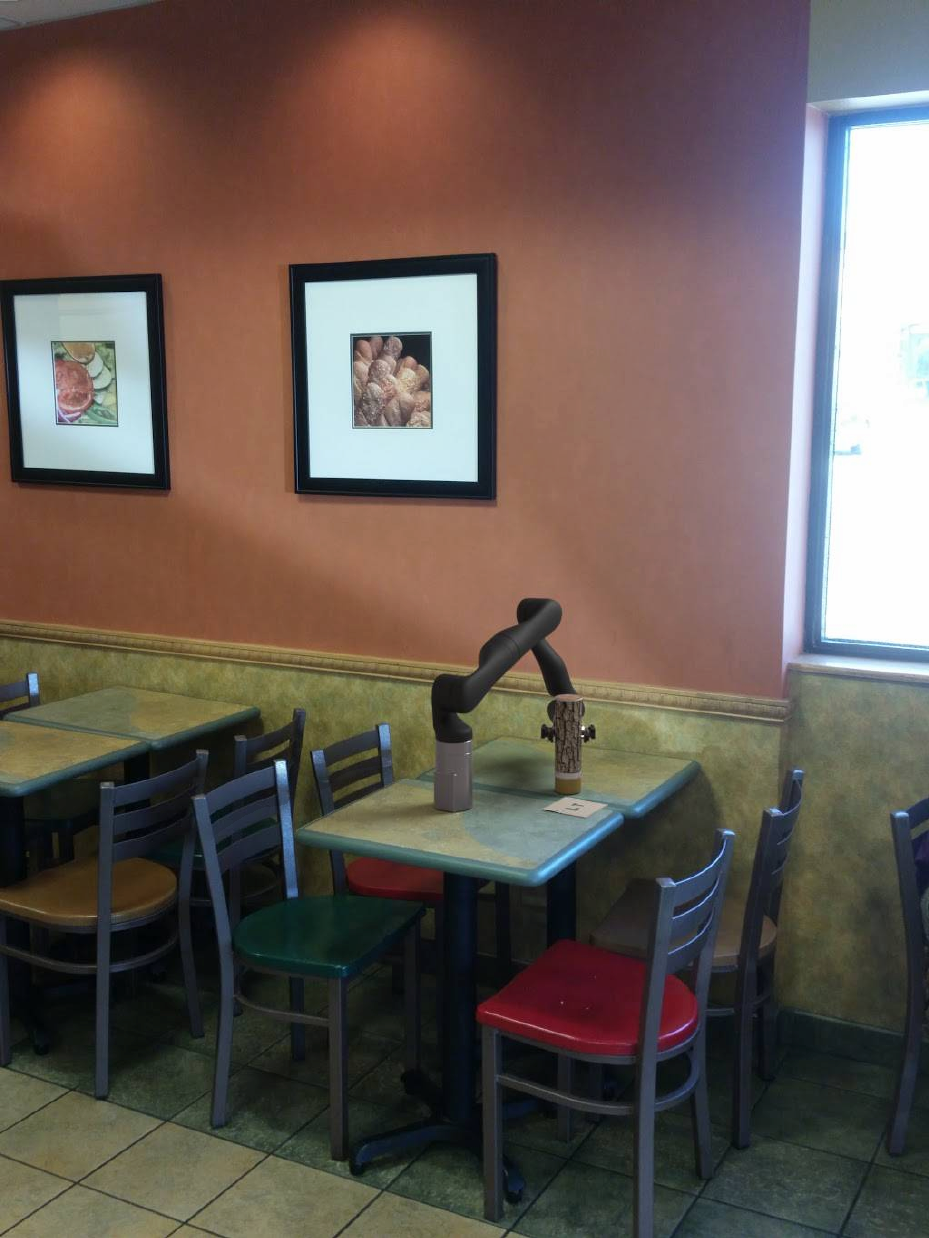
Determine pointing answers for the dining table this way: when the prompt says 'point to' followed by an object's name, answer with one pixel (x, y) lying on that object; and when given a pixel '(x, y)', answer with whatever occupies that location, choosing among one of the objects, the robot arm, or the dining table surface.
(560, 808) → the card
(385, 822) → the dining table surface
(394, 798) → the dining table surface
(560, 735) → the brown bark cylinder
